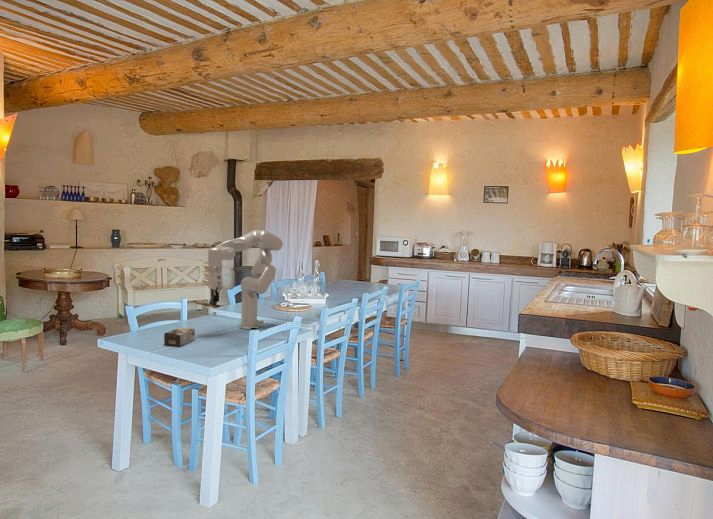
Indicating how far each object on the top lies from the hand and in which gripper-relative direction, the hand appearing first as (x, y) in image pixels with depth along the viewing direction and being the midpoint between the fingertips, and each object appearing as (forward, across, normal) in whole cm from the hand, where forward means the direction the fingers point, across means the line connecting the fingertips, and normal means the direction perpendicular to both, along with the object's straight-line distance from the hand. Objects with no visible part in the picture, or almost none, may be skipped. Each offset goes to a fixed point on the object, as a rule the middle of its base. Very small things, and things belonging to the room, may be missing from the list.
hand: (214, 300), depth 285 cm
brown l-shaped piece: (+2, 0, +6) cm, 6 cm away
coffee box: (+16, -3, +17) cm, 23 cm away
